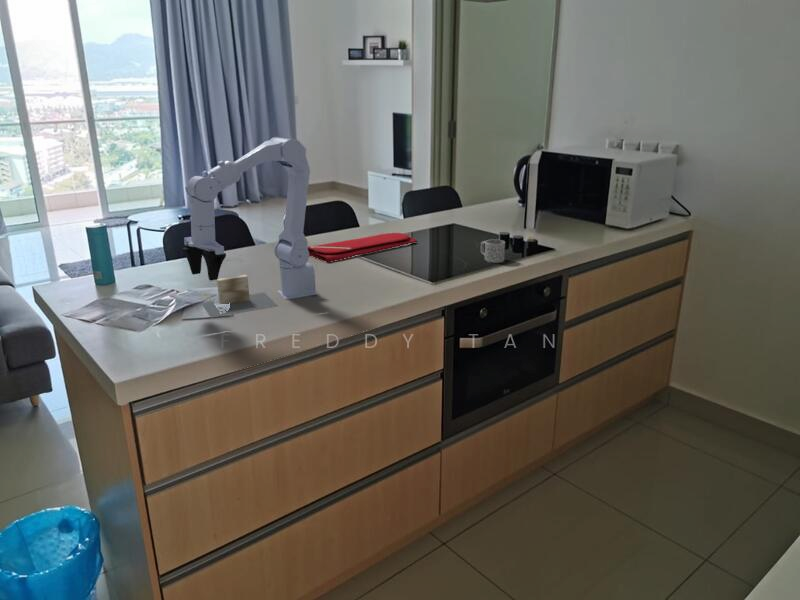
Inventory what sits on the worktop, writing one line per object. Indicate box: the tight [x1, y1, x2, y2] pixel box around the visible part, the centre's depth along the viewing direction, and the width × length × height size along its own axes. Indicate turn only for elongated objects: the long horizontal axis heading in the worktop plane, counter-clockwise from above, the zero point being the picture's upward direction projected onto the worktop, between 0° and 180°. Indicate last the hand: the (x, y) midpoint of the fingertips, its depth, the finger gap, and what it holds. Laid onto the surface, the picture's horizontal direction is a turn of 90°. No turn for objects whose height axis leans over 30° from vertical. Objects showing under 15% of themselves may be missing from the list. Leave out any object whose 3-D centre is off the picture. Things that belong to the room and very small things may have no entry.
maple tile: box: [216, 274, 250, 304], centre depth 167 cm, size 8×2×7 cm, turn 118°
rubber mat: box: [201, 292, 279, 319], centre depth 166 cm, size 18×13×1 cm
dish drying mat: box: [307, 232, 418, 263], centre depth 222 cm, size 16×41×4 cm, turn 130°
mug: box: [480, 238, 506, 264], centre depth 207 cm, size 10×7×7 cm, turn 37°
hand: (204, 276), depth 155 cm, fingers open, 7 cm apart
